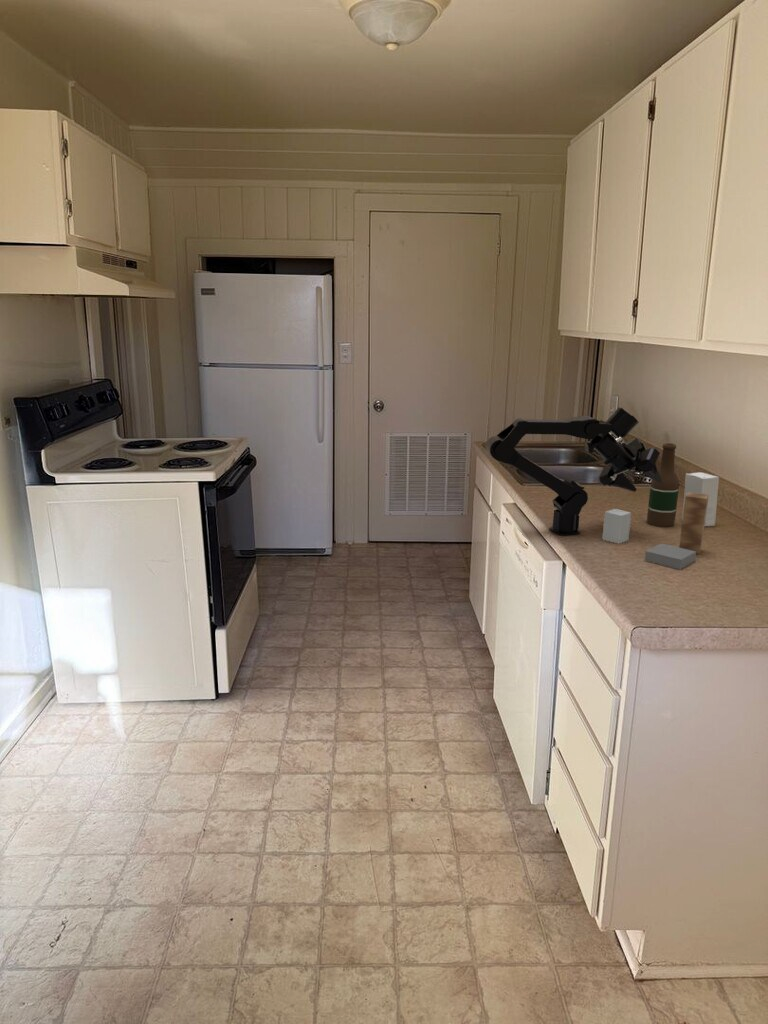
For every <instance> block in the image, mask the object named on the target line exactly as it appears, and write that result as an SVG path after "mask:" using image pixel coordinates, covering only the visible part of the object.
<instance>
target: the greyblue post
mask: <svg viewBox="0 0 768 1024" xmlns="http://www.w3.org/2000/svg"><path fill="white" fill-rule="evenodd" d="M603 517H604V520H603V529H602V538H601V540H602V539H603V540H602V541H605V540H606V541H605V542H609V541H610V543H613V542H614V543H613V544H616V543H618V544H617V545H620V544H622V542H623V543H625V541H626V542H628V541H629V539H630V530H631V518H632V512H631V511H626V510H621V509H618V508H613V509H610V510H606V511H604V516H603ZM619 543H620V544H619Z"/></svg>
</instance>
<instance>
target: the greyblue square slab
mask: <svg viewBox="0 0 768 1024" xmlns="http://www.w3.org/2000/svg"><path fill="white" fill-rule="evenodd" d="M696 557H697V554H696V551H692V550H687V549H683V548H679V546H674V545H671V544H670V545H669V544H664V543H660V544H658V545H655V546H653V547H651V548H649V549H647V550H645V555H644V561H645V560H646V561H645V562H647V561H649V562H648V563H651V562H654V563H653V564H655V563H657V564H656V565H659V564H660V565H659V566H664V567H667V566H668V567H667V568H671V569H676V570H682V569H685V567H688V566H689V565H691V564H693V563H695V562H696Z"/></svg>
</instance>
